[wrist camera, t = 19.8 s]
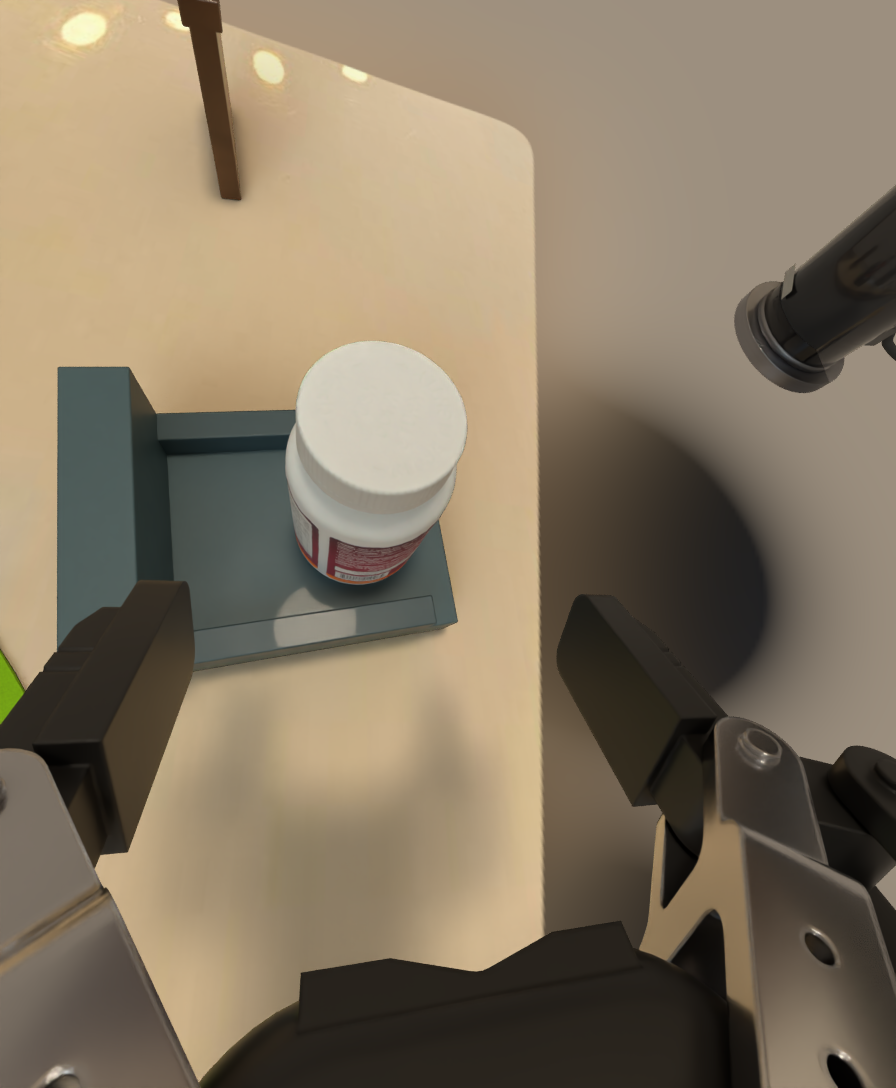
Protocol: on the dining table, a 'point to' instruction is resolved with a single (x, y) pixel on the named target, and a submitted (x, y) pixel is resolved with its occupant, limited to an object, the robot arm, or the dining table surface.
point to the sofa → (210, 529)
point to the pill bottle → (371, 458)
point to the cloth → (8, 688)
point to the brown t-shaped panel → (214, 88)
